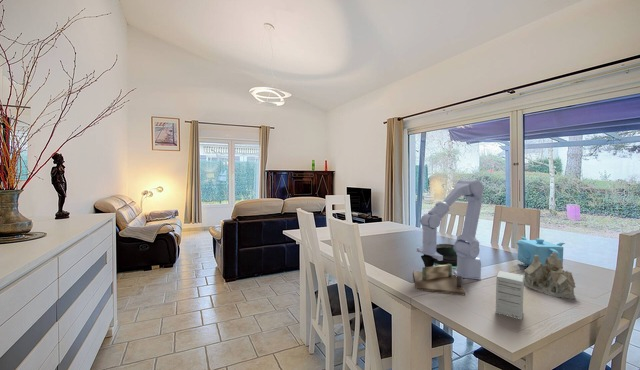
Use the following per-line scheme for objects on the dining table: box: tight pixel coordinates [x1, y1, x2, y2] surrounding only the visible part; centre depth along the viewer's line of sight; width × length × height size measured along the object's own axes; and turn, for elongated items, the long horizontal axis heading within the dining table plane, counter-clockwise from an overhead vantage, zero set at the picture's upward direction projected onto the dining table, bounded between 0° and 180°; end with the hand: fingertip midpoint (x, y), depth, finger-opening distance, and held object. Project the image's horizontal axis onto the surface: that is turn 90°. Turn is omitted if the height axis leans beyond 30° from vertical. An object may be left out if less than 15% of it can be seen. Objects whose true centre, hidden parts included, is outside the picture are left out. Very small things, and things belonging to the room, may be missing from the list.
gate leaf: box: [421, 264, 453, 280], centre depth 124 cm, size 16×2×5 cm, turn 110°
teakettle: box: [514, 236, 566, 267], centre depth 142 cm, size 19×19×15 cm
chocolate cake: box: [433, 243, 457, 269], centre depth 151 cm, size 20×20×9 cm
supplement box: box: [495, 270, 525, 320], centre depth 96 cm, size 7×7×13 cm
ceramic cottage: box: [523, 252, 576, 300], centre depth 115 cm, size 16×16×15 cm
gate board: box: [413, 270, 467, 296], centre depth 121 cm, size 18×20×5 cm
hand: (428, 272), depth 125 cm, fingers closed
